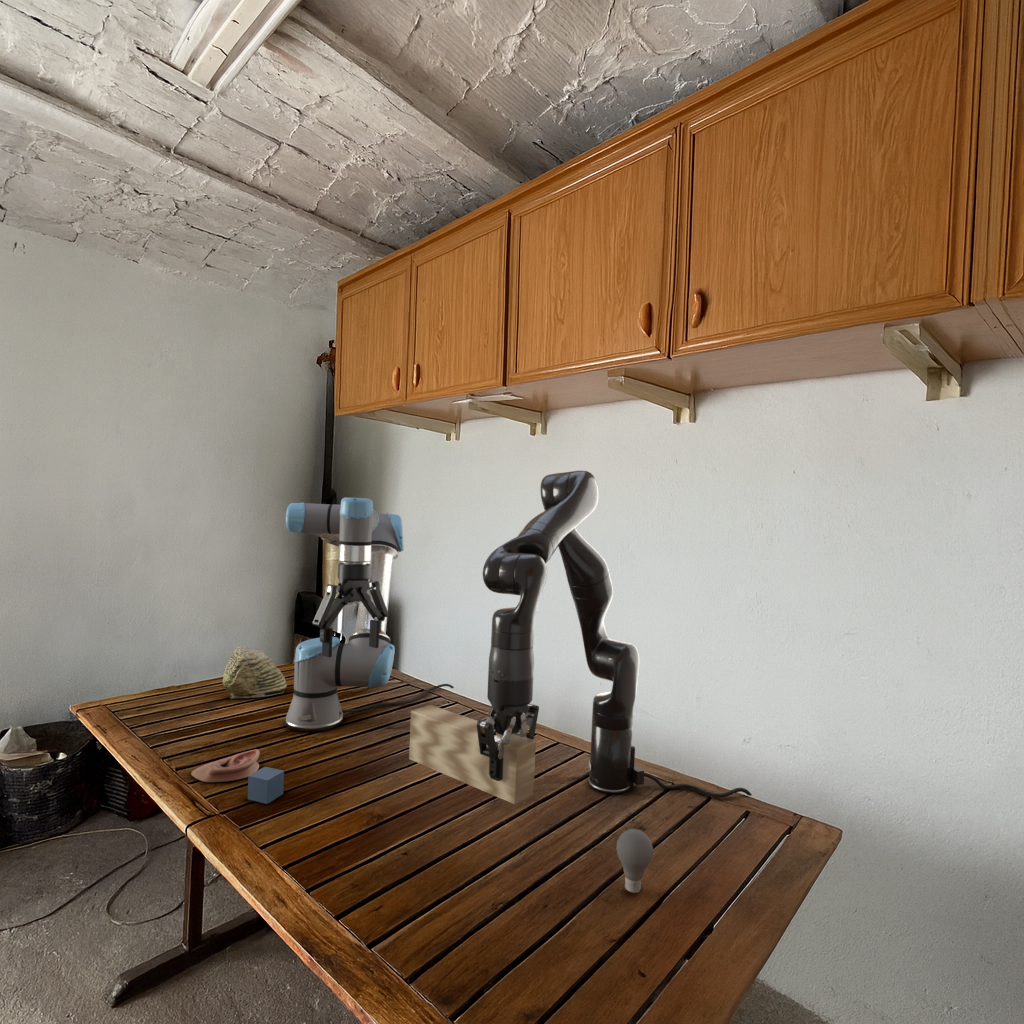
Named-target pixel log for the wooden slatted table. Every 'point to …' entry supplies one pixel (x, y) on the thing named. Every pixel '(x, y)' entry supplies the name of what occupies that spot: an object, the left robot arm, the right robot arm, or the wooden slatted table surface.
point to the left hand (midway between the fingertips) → (351, 651)
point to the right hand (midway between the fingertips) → (506, 773)
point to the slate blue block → (265, 785)
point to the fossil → (252, 674)
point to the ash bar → (470, 753)
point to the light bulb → (634, 857)
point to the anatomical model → (229, 768)
